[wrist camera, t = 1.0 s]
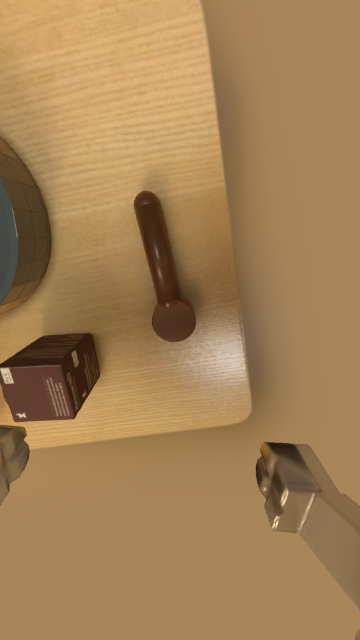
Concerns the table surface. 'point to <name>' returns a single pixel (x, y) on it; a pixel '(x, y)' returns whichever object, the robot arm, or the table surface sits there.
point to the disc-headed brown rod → (163, 272)
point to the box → (50, 378)
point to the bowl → (20, 231)
